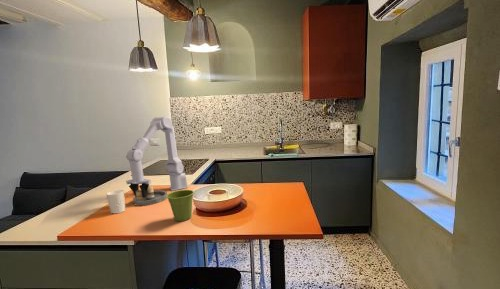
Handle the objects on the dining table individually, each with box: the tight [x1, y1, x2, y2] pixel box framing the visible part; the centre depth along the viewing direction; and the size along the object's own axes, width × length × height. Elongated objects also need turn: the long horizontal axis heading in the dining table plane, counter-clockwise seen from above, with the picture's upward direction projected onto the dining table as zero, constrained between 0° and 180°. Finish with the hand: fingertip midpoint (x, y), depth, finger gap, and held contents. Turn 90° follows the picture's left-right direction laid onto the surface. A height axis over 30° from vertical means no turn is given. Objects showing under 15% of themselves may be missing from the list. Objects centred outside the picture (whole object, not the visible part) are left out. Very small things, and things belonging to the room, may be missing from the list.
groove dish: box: [132, 190, 168, 206], centre depth 160 cm, size 18×18×2 cm
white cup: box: [105, 189, 126, 214], centre depth 146 cm, size 8×8×10 cm
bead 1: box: [136, 189, 146, 201], centre depth 157 cm, size 4×4×5 cm
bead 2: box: [147, 185, 155, 196], centre depth 165 cm, size 4×4×5 cm
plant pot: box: [166, 189, 195, 222], centre depth 129 cm, size 12×12×11 cm
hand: (141, 197), depth 157 cm, fingers closed on bead 1, 4 cm apart
